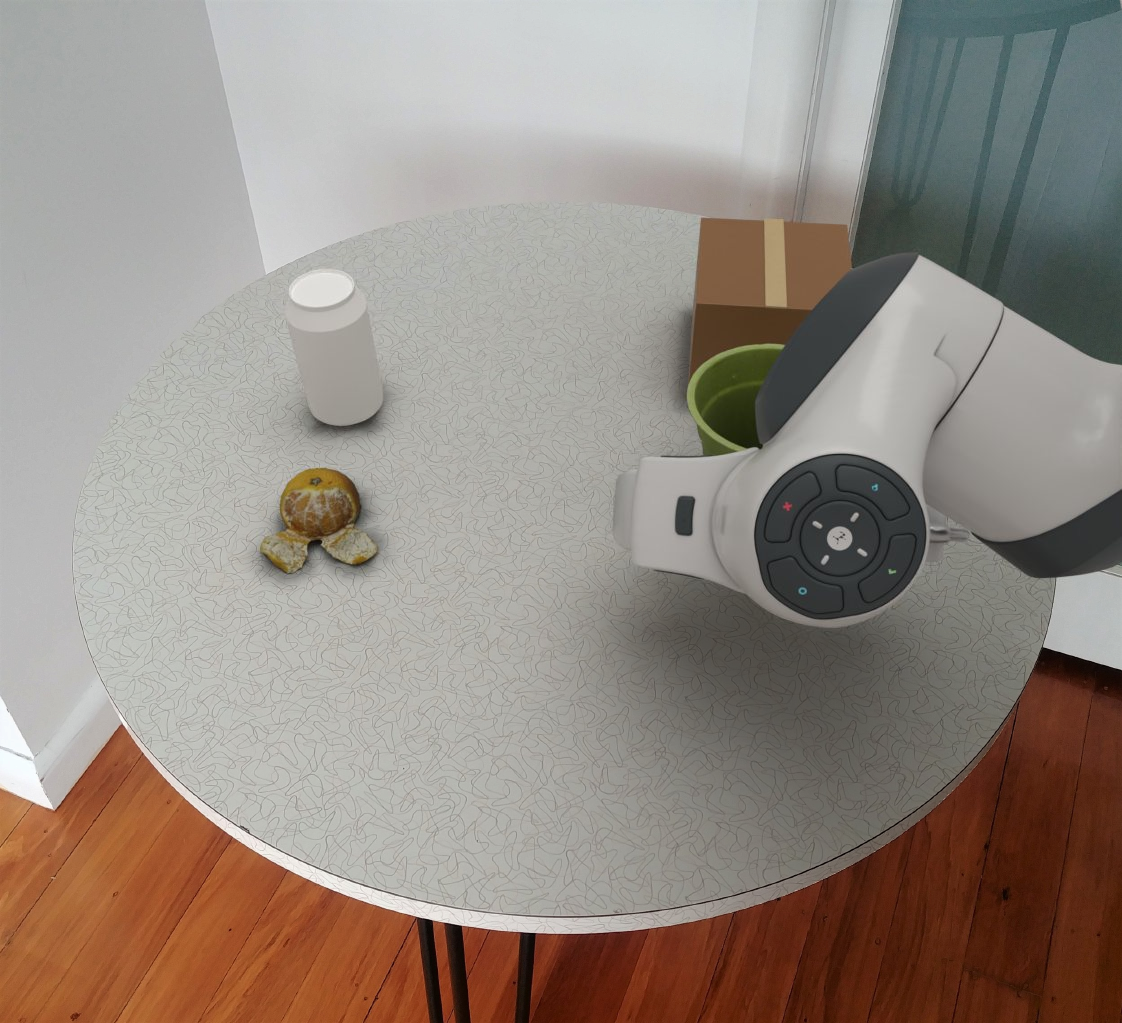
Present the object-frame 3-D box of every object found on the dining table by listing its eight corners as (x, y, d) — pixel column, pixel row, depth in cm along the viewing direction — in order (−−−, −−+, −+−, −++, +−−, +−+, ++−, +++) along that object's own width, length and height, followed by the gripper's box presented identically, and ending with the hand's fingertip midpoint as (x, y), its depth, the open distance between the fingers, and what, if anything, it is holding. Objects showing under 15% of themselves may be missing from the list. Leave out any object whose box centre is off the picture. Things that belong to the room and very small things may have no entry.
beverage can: (394, 420, 87) (373, 299, 78) (321, 441, 85) (290, 320, 76) (373, 375, 91) (350, 255, 82) (302, 395, 89) (271, 275, 80)
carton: (834, 412, 87) (857, 311, 79) (686, 402, 88) (696, 301, 80) (827, 322, 95) (847, 222, 87) (692, 314, 96) (701, 215, 88)
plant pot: (798, 444, 84) (821, 329, 76) (863, 553, 76) (897, 439, 68) (656, 471, 82) (663, 357, 74) (707, 587, 74) (722, 473, 66)
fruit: (261, 574, 76) (249, 541, 73) (271, 491, 82) (261, 457, 79) (377, 564, 76) (370, 531, 74) (379, 483, 82) (372, 448, 79)
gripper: (984, 479, 58) (920, 480, 72) (613, 454, 60) (619, 459, 74) (974, 593, 58) (912, 572, 72) (605, 565, 60) (613, 549, 74)
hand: (762, 515), depth 73 cm, fingers closed, pressing on plant pot
